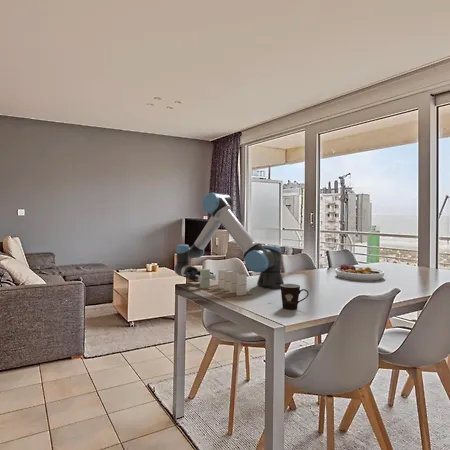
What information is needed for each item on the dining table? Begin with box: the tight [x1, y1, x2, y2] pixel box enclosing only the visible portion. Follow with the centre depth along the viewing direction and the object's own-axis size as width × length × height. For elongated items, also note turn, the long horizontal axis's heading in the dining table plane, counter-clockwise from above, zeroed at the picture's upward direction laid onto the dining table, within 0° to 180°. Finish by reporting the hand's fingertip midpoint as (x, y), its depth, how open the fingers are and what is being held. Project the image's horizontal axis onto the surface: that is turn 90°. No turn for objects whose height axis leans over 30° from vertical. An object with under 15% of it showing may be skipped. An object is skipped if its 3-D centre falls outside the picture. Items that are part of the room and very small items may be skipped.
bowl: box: [335, 263, 385, 282], centre depth 241 cm, size 30×30×8 cm
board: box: [194, 284, 253, 300], centre depth 194 cm, size 31×17×1 cm, turn 31°
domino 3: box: [224, 270, 235, 291], centre depth 196 cm, size 2×5×10 cm, turn 122°
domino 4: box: [230, 272, 241, 293], centre depth 191 cm, size 2×5×10 cm, turn 122°
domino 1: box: [199, 268, 211, 288], centre depth 202 cm, size 2×5×10 cm, turn 121°
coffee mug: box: [280, 283, 309, 311], centre depth 162 cm, size 12×9×10 cm
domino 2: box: [217, 269, 229, 289], centre depth 201 cm, size 2×5×10 cm, turn 122°
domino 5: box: [237, 273, 248, 295], centre depth 186 cm, size 2×5×10 cm, turn 122°
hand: (208, 278), depth 199 cm, fingers open, 8 cm apart
